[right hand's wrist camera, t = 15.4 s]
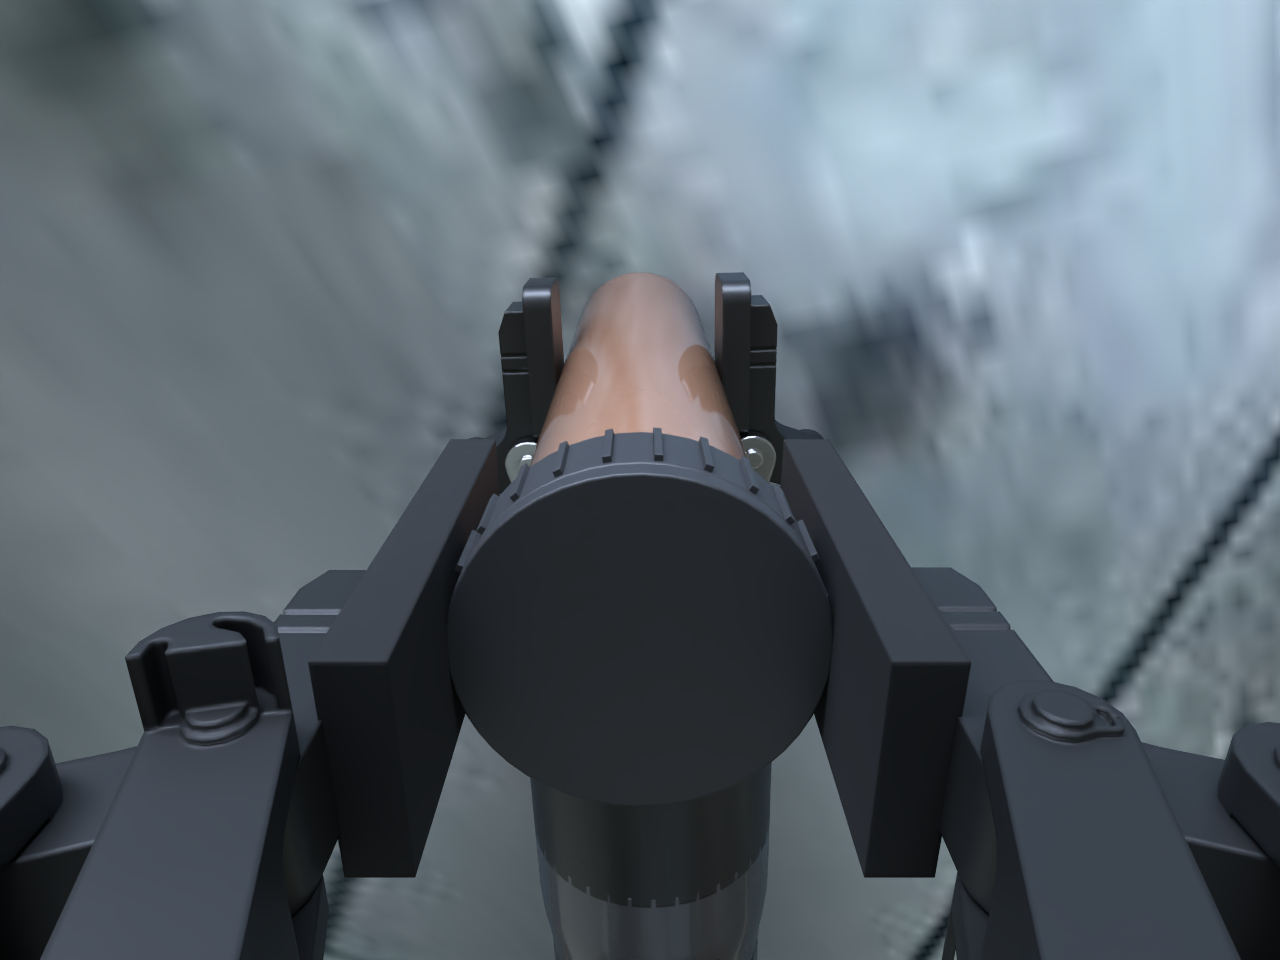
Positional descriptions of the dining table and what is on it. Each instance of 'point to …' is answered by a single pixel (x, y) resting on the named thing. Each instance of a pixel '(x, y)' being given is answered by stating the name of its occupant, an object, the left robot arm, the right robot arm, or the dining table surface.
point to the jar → (639, 371)
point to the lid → (639, 621)
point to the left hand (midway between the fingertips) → (635, 282)
